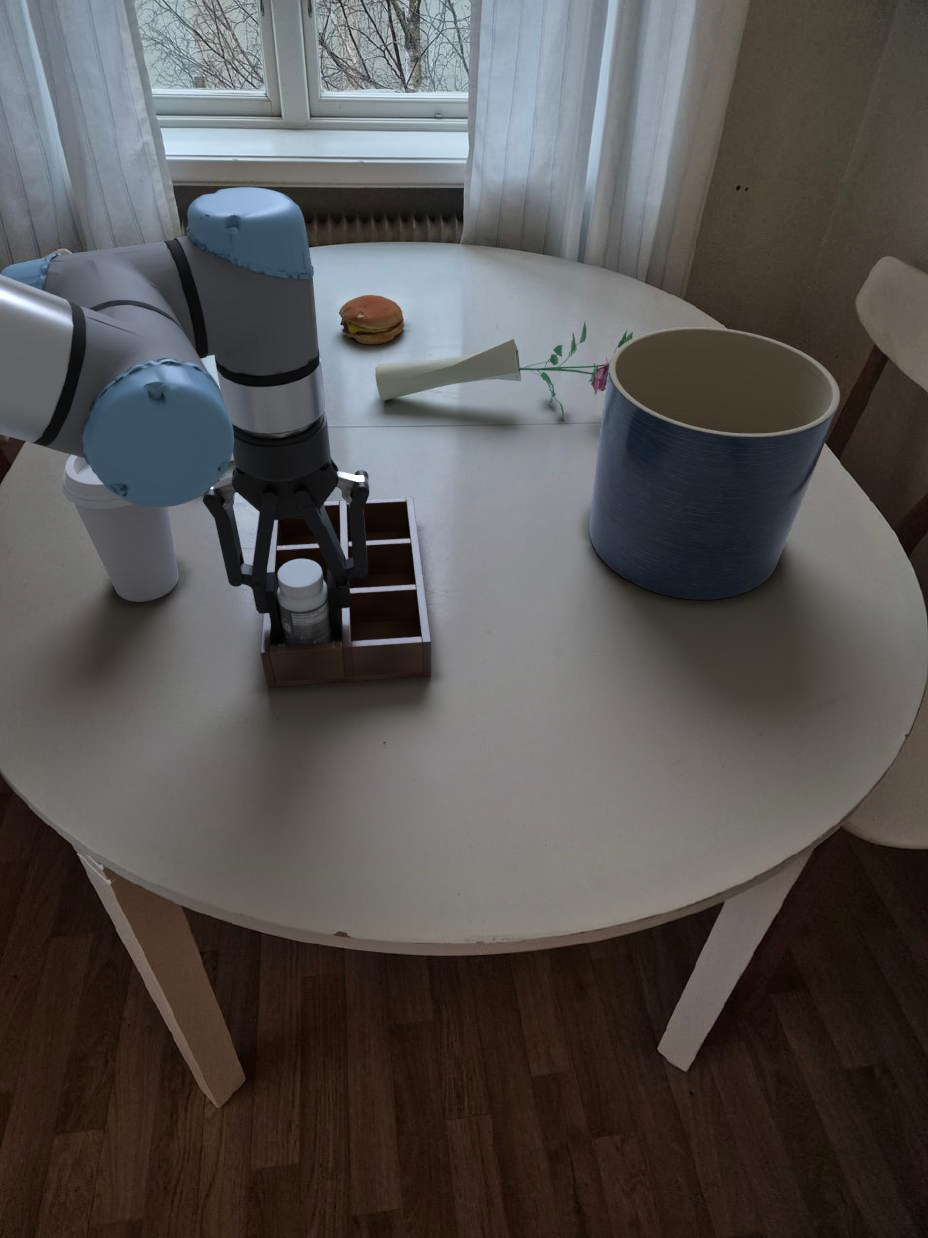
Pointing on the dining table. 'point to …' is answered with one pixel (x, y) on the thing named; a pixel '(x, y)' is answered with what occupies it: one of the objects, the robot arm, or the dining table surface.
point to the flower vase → (477, 370)
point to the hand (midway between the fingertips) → (308, 631)
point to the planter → (705, 458)
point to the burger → (371, 319)
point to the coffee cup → (124, 535)
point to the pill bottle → (303, 603)
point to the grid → (358, 601)
